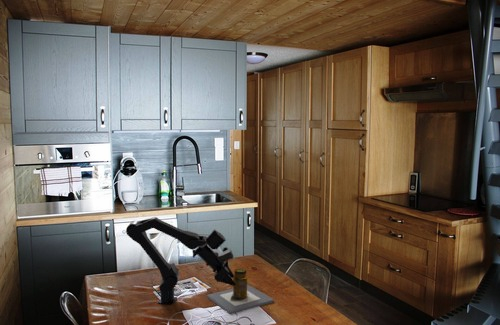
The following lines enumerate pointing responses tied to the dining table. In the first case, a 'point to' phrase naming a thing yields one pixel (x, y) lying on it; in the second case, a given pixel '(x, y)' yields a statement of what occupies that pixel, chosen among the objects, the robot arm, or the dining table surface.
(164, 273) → the robot arm
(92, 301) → the dining table surface
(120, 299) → the dining table surface
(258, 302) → the grey square board
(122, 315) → the dining table surface
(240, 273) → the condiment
